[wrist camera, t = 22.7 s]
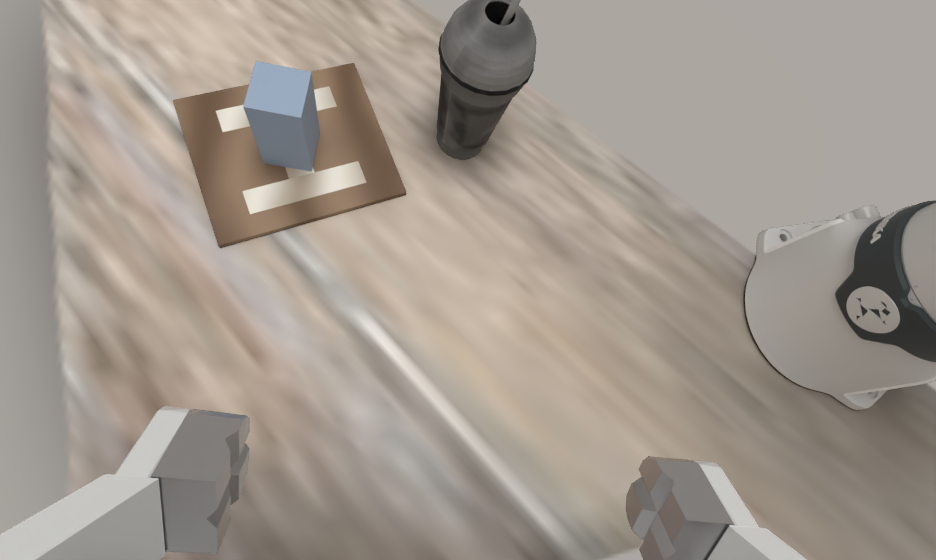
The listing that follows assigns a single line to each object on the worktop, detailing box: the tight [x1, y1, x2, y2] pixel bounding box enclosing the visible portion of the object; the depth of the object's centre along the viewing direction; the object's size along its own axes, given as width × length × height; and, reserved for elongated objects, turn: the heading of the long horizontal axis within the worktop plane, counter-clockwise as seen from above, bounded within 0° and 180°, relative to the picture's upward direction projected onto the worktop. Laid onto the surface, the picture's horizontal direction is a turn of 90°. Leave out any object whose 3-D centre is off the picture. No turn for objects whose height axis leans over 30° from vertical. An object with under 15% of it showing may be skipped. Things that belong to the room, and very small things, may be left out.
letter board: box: [173, 63, 406, 248], centre depth 45 cm, size 16×14×1 cm
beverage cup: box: [437, 0, 536, 159], centre depth 40 cm, size 7×7×20 cm
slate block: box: [243, 61, 320, 172], centre depth 41 cm, size 4×4×8 cm
